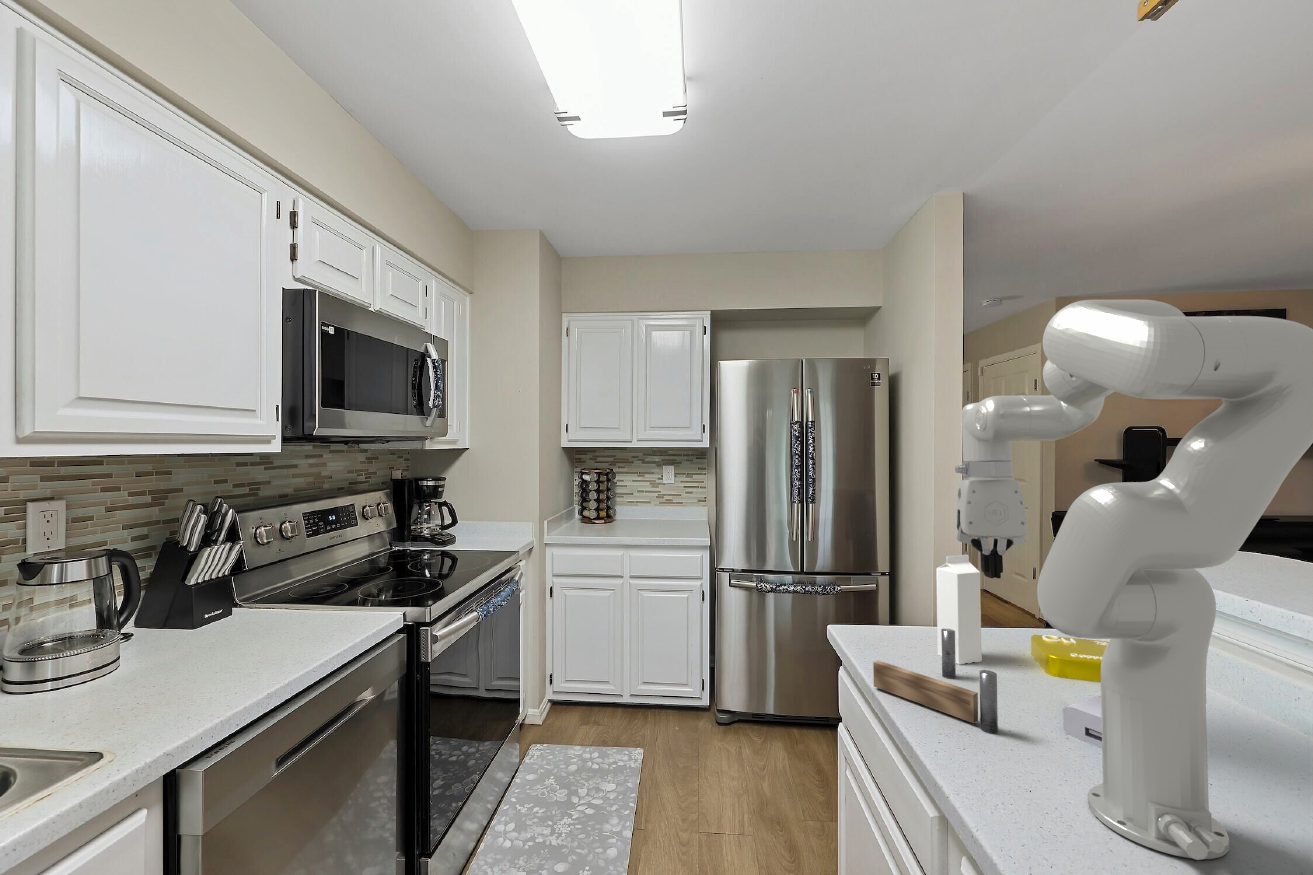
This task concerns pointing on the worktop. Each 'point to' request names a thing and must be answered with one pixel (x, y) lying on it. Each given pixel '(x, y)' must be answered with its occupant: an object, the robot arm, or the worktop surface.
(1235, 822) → the worktop surface
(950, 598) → the milk
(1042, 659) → the element tile
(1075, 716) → the charger
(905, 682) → the gate
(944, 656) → the latch post
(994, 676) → the hinge post
